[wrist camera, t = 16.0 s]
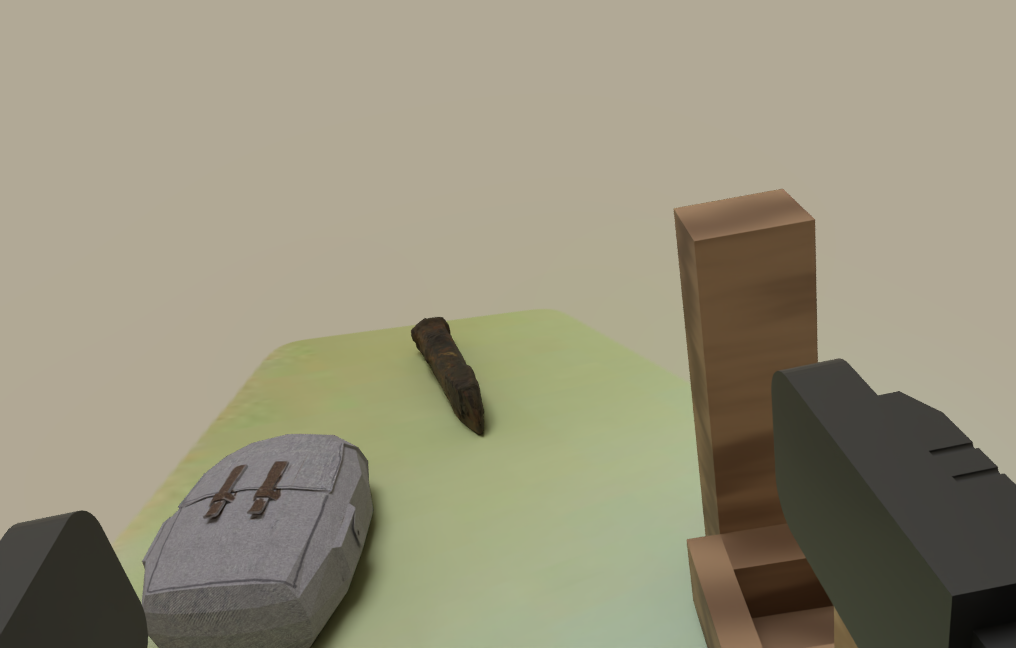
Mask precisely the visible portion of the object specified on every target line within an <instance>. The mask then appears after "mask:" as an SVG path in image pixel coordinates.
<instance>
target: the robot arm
mask: <svg viewBox="0 0 1016 648" xmlns="http://www.w3.org/2000/svg"><path fill="white" fill-rule="evenodd" d="M771 395H772V415H773V435H774V455H775V475H776V485H777V491H778V496H779V500H780V504H781V507H782V511H783V514H784V517H785V519H786V522H787V524H788V527H789V529H790V531H791V533H792V535H793V536H794V538H795V540H796V541H797V543H798V545H799V547H800V548H801V550H802V552H803V554H804V555H805V557H806V559H807V561H808V562H809V564H810V566H811V567H812V569H813V571H814V573H815V574H816V576H817V578H818V580H819V581H820V583H821V585H822V586H823V588H824V590H825V592H826V593H827V595H828V597H829V599H830V600H831V602H832V604H833V606H834V607H835V609H836V611H837V612H838V614H839V616H840V618H841V619H842V621H843V623H844V625H845V626H846V628H847V630H848V631H849V633H850V635H851V637H852V638H853V640H854V642H855V644H856V645H857V647H858V648H1016V484H1015V483H1013V482H1012V481H1011V480H1010V479H1009V478H1008V477H1007V476H1006V475H1005V474H1000V473H999V471H998V467H997V466H996V465H995V464H994V463H993V462H992V461H991V460H990V459H989V458H988V457H987V456H986V455H985V454H984V453H983V452H982V451H981V450H980V449H979V448H976V449H975V448H974V447H973V442H972V441H971V440H970V439H969V438H968V437H967V436H966V435H965V434H964V433H963V432H962V431H961V430H960V429H959V428H958V427H957V426H956V425H955V424H954V423H953V422H952V421H951V420H950V419H949V418H948V417H947V416H946V415H945V414H944V413H942V412H941V411H938V410H936V409H934V408H932V407H930V406H928V405H926V404H924V403H922V402H920V401H918V400H916V399H914V398H912V397H910V396H908V395H906V394H904V393H902V392H900V391H898V392H893V393H888V394H883V395H877V394H876V393H875V392H874V391H873V390H872V389H871V388H870V386H869V385H868V384H867V383H866V382H865V381H864V380H863V379H862V378H861V377H860V376H859V374H858V373H857V372H856V371H855V370H854V369H853V368H852V367H851V366H850V365H849V364H848V363H847V362H846V361H844V360H843V359H834V360H829V361H824V362H819V363H814V364H809V365H804V366H799V367H794V368H789V369H784V370H780V371H776V372H775V373H774V374H773V377H772V383H771ZM147 645H148V628H147V621H146V616H145V613H144V609H143V607H142V604H141V602H140V600H139V598H138V596H137V594H136V592H135V591H134V589H133V587H132V585H131V583H130V581H129V579H128V577H127V575H126V573H125V571H124V569H123V567H122V565H121V563H120V562H119V560H118V558H117V556H116V554H115V552H114V550H113V548H112V546H111V544H110V542H109V540H108V538H107V536H106V535H105V532H104V531H103V529H102V527H101V525H100V523H99V522H98V520H97V519H96V518H95V517H94V516H93V515H92V514H91V513H89V512H87V511H76V512H72V513H67V514H61V515H56V516H51V517H46V518H42V519H37V520H32V521H27V522H22V523H17V524H15V525H13V526H12V527H11V528H9V529H8V531H7V532H6V533H5V534H4V536H3V537H2V539H1V540H0V648H147Z"/></svg>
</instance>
